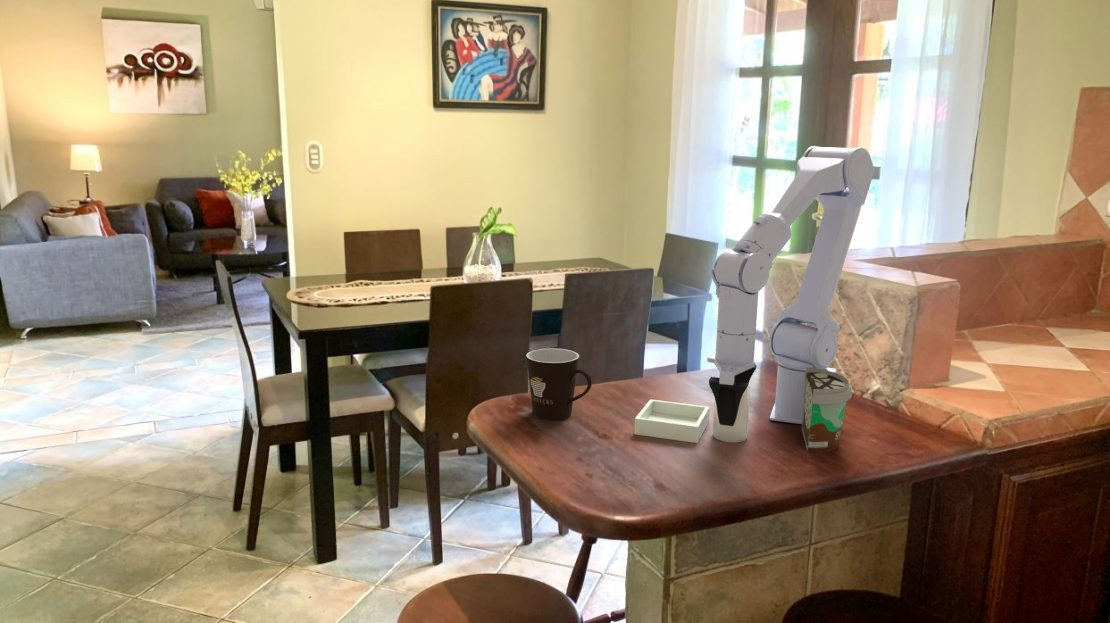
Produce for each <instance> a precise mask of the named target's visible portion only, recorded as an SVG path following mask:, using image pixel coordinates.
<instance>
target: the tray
mask: <svg viewBox="0 0 1110 623" xmlns="http://www.w3.org/2000/svg"><path fill="white" fill-rule="evenodd" d="M710 409H711V408H710V406H707V405H697V404H689V403H683V402H673V401H666V400H660V399H659V400H658V399H649V401H648V402H646V404H645V406H643V408H642V409H641V410H640V412H639V413H638V414H637V415H636V416H635V417H634V435H638V436H645V437H651V438H658V439H659V438H660V439H665V440H671V441H681V442H685V443H687V442H688V443H692V444H693V443H695V444H698V443H699V441H700V440H701V437H702V435H703V433H704V431H705V430H706V428H707V426H708V425H709V423H710V412H711V411H710Z"/></svg>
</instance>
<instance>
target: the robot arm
mask: <svg viewBox="0 0 1110 623" xmlns="http://www.w3.org/2000/svg"><path fill="white" fill-rule="evenodd" d="M796 162H797V163H796V175H795V177H794V179H793V180H792V181H791V183H790V184H789V185H788V188H787V189H786V190H785V192H784V193H783V195H782V197H781V198H780V199H779V201H778V202H777V204H776V205H775V207H774V208H773V210H772V211H771V212H770V213H769V212H766V213H761V214H760V215H758V216H756V217H755V219H754V220H753V224H751V226H750V227H749V228H748V230H746V232H745V233H744V235H742V237H741V238H740V240H739V241H737V243H736V244H735V246H734V247H733V248H732V249H728V250H724V252H722V254H720V255H718V256H717V258H716V259H715V262H714V264H713V268H711V269H710V275H711V279H712V281H713V282H712V283H714V286H715V296H716V298H717V299H718V304H717V307H718V308H717V309H718V310H717V320H716V321H717V322H716V323H717V325H716V338H715V354H709V355H708V356H707V360H706V362H707V363H711V364H714V365H715V368H716V369H717V370H718V372H719V377H717V376H710V377H709V380H708V385H709V388H710V390H711V392H712V394H713V397H714V402H715V401H716V406H717V413H718V419H719V423H720V425H726V426H734V423H735V421H736V417H737V413H738V409H739V404H740V401H741V398H742V395H743V393H744V392H745V390H746V388H747V387H748V386H749V383H750V382H751V378H752V376H753V375H754V373H755V372H756V369H757V364H756V360H755V350H756V349H755V347H756V334H757V332H756V329H757V320H758V302H759V292H760V291H761V290H762V289H763V288H764V287H766V285H767V283H768V281H769V276H770V271H771V269H772V268H773V264H774V263H773V261H774V260H775V259H776V257H777V256H778V255H779V253H780V252H781V251H782V249H783V248H784V247H785V246H786V244H787V243H788V242H789V241H790V239H791V237H792V230H791V226H792V225H793V224H794V222H795V221H796V220H798V218H799V217H800V216H801V215H802V214H803V213H804V212H805V211H806V210H807V208H808V207H809V206H810V205H811V204H812V203H813V202H814V201H815V200H816V201H817V202H819V203H820V204H821V205H822V208H823V214H822V217H821V221H820V223H819V226H818V229H817V234H816V237H815V240H814V244H813V247H812V249H811V253H810V256H809V259H808V263H807V265H806V270H805V271H804V275H803V279H802V282H801V285H800V288H799V292H798V295H797V297H796V301H795V302H794V303H793V304H791V305H789V306H786V308H783V309H782V310H780V312H779V316H778V319H777V320H776V322H775V323H774V325H773V327H772V328H771V330H770V332H769V335H768V347H769V348H768V349H769V350H770V353H771V354H772V355H773V356H774V362H776V363H777V370H776V371H777V373H776V374H777V375H776V387H775V402H774V404H773V407H772V410H771V413H770V415H769V420H770V421H773V422H780V423H781V422H782V423H789V424H798V425H802V422H803V407H804V393H805V374H806V367H807V368H817V369H823V370H828V371H831V372H835V373H837V369H836V368H833V367H829V366H830V365H831V364H832V363H833V362H834V360H835V359H836V357H837V353H838V348H839V347H838V346H839V344H838V340H839V334H840V330H841V326H840V324H839V323H838V321H837V320H836V319H835V317H834V316H833V315H832V313H831V312H830V309H831V306H832V303H833V300H834V296H835V293H836V291H837V290H836V289H837V287H838V285H839V280H840V277H841V275H842V271H843V267H844V264H845V262H846V259H847V258H846V257H847V254H848V251H849V249H850V244H851V241H852V238H853V235H854V232H855V229H856V225H857V222H858V219H859V216H860V212H861V208H862V206H863V205H865V203H866V199H867V196H868V193H869V190H870V186H871V184H872V180H873V176H874V174H875V168H874V163H873V161H872V158H871V154H870V152H869V151H868V150H867V149H866V148H864V147H859V146H858V147H822V146H818V145H814V146H813V145H812V146H810V147H808V148H807V149H806V150H805V151H804V153H803V154H802V156H801V158H799V159H798V160H797V161H796ZM805 324H810V325H812V326H810V325H805ZM814 326H816V327H814Z"/></svg>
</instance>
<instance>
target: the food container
mask: <svg viewBox="0 0 1110 623" xmlns="http://www.w3.org/2000/svg"><path fill="white" fill-rule="evenodd" d="M852 397H853V394H852V387H851V384H850V382H849V379H848V378H847V377H846V376H844V375H842V374H840V373H837V372H836V373H835V372H831V371H828V370H823V369H817V368H807V367H806V374H805V393H804V407H803V422H802V424H801V431H802V436H803V439H804V443H805V448H806V451H807V453H826V452H831V451H834V450H836V449H837V448H838V447H839V444H840V440H841V435H842V434H841V433H842V428H843V421H844V418H845V410H846V405H847V401H849V400H851V398H852Z"/></svg>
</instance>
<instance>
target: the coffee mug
mask: <svg viewBox="0 0 1110 623" xmlns="http://www.w3.org/2000/svg"><path fill="white" fill-rule="evenodd" d="M525 356H526V364H527V365H526V366H527V373H528V382H529V384H528V385H529V390H530V392H529V393H530V400H531V409H532V415H533V416H534V417H535V416H536V417H535V418H537V417H538V418H537V419H539V418H541V419H540V420H543V419H545V420H544V421H562V420H566V419H568V418H570V417H571V416H572V412H573V405H574V402H575V401H577V400H579V399H581V398H583V397H584V396H586V394H588V393H589V391H590V390H591V388H592V379H591V376H590V374H589V373H588V372H587V371H585V370H584V369H580V368H579V359H580V354H579V353H578V352H575V351H573V350H570V349H565V348H541V349H540V348H539V349H535V350H531V351H528V352H527V353H526V355H525ZM578 368H579V369H578ZM577 374H581V375H583V376H584V377H585V379H586V382H587V385H586V386H587V387H586V389H584V391H583V392H581V393H579V394H577V395H575V389H576V388H575V387H576V382H577ZM546 419H547V420H546ZM561 419H562V420H561Z"/></svg>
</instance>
